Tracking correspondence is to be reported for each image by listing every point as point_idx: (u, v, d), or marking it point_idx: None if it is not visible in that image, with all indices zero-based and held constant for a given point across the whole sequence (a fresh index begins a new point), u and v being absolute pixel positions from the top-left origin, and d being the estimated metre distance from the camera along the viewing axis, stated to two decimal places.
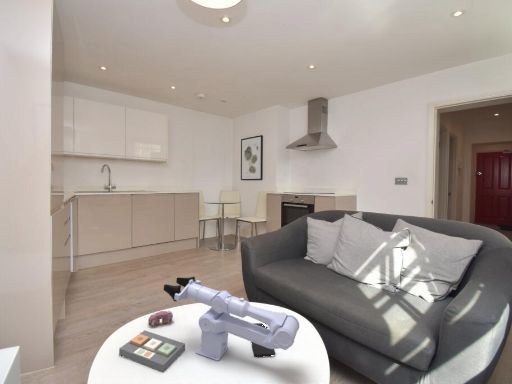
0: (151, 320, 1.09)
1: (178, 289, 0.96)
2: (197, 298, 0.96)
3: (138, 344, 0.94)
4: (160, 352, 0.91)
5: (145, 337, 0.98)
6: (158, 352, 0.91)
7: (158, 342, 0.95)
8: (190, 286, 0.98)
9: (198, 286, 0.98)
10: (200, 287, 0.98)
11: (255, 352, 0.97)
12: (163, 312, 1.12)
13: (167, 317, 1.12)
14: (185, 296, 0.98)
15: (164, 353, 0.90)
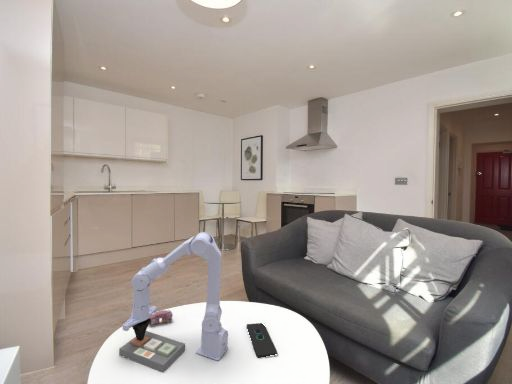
0: (151, 319, 1.10)
1: None
2: (139, 306, 0.93)
3: (138, 344, 0.94)
4: (160, 352, 0.91)
5: (145, 337, 0.98)
6: (158, 352, 0.91)
7: (158, 342, 0.95)
8: None
9: None
10: None
11: (258, 353, 0.96)
12: (163, 311, 1.12)
13: (167, 316, 1.13)
14: (137, 320, 0.93)
15: (164, 353, 0.90)
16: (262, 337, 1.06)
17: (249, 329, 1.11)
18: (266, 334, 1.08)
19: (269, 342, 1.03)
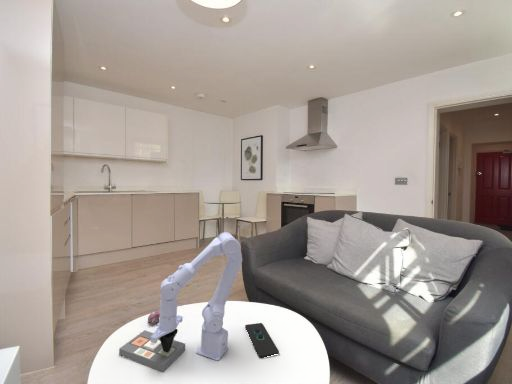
0: (151, 318, 1.10)
1: None
2: (169, 316, 0.89)
3: None
4: None
5: (145, 340, 0.98)
6: None
7: (158, 342, 0.95)
8: (159, 324, 0.91)
9: None
10: None
11: (260, 353, 0.96)
12: None
13: None
14: (165, 331, 0.89)
15: None
16: (262, 337, 1.06)
17: (248, 330, 1.10)
18: (265, 334, 1.08)
19: (270, 342, 1.03)
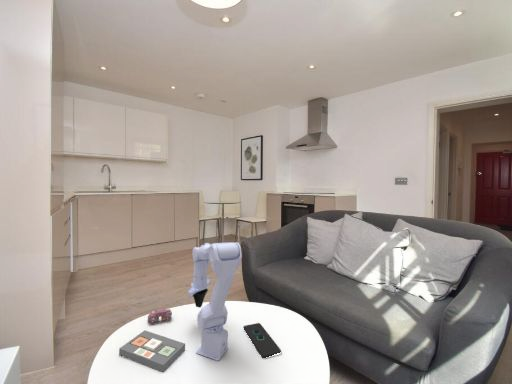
0: (150, 318, 1.11)
1: None
2: (194, 275, 1.08)
3: None
4: None
5: (145, 340, 0.98)
6: None
7: (158, 342, 0.95)
8: (193, 284, 1.10)
9: None
10: None
11: (263, 354, 0.96)
12: (162, 310, 1.13)
13: (166, 315, 1.14)
14: (198, 288, 1.07)
15: None
16: (262, 337, 1.06)
17: (247, 331, 1.10)
18: (265, 334, 1.08)
19: (271, 342, 1.03)
